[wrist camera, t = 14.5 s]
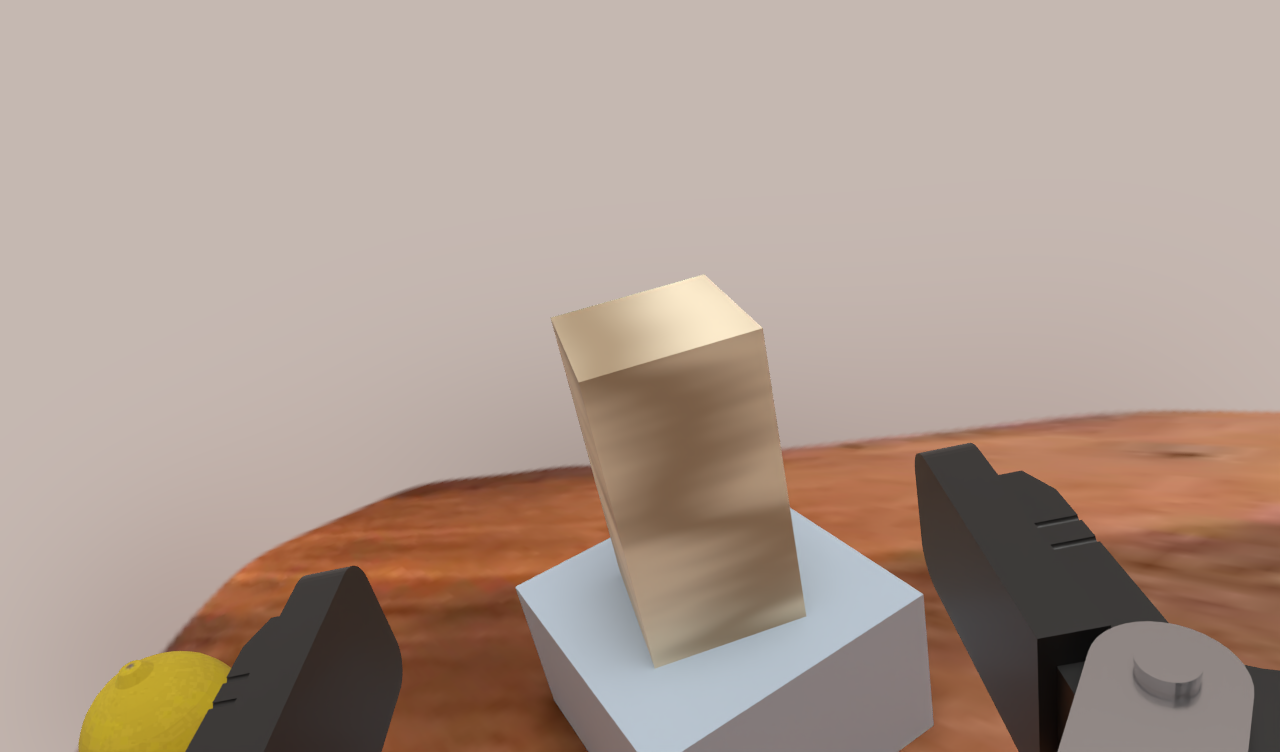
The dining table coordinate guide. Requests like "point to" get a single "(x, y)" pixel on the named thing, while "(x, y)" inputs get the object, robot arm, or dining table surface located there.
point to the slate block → (740, 662)
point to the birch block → (686, 463)
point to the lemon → (153, 704)
